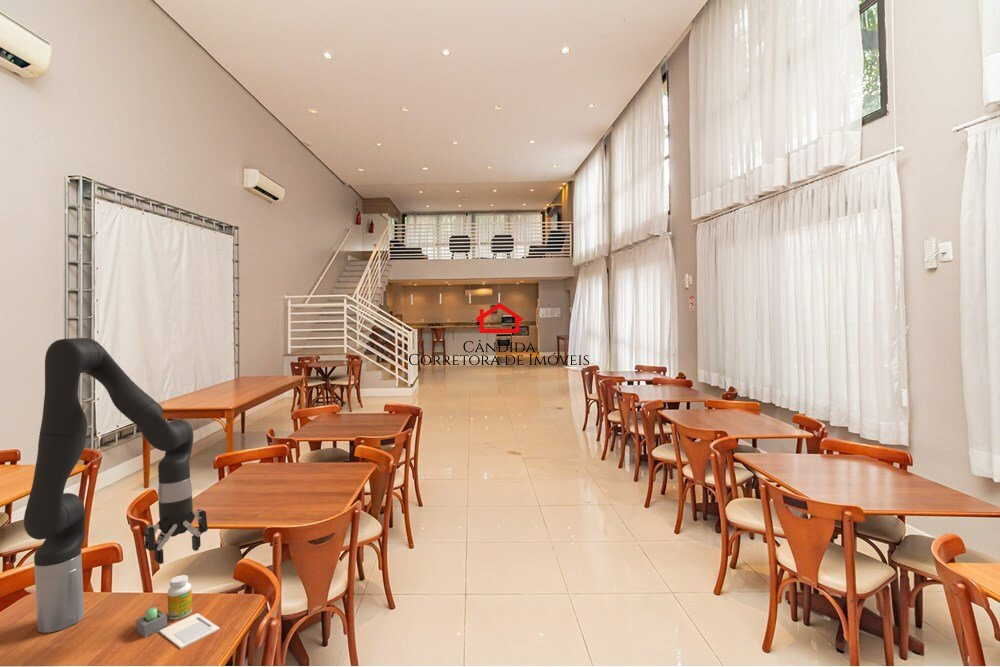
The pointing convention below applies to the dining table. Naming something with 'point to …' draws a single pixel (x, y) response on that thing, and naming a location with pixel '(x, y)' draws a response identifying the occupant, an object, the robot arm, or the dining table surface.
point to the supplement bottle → (179, 598)
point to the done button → (151, 614)
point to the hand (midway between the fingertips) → (178, 556)
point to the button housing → (151, 624)
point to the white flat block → (189, 630)
